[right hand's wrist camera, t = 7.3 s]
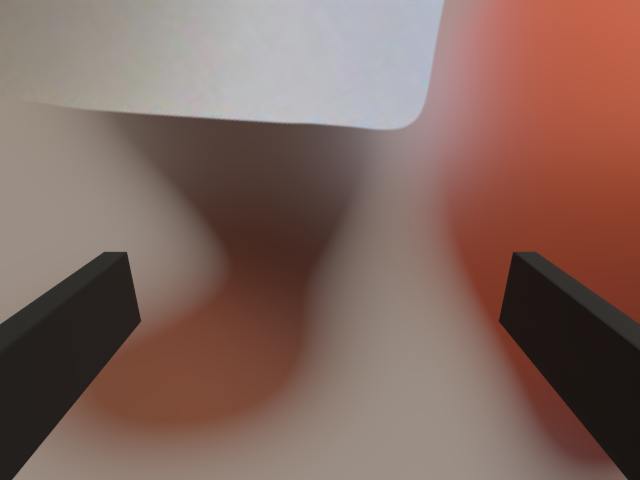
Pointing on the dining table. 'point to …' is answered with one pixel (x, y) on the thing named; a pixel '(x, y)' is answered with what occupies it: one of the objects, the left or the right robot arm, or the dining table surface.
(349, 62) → the dining table surface
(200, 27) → the dining table surface
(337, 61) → the dining table surface
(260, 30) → the dining table surface
